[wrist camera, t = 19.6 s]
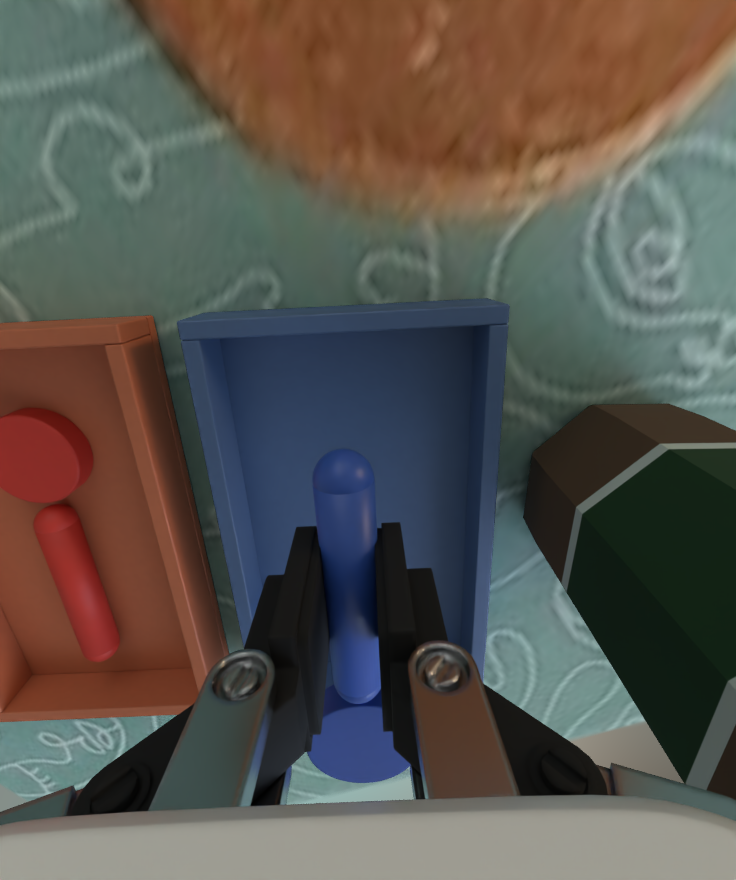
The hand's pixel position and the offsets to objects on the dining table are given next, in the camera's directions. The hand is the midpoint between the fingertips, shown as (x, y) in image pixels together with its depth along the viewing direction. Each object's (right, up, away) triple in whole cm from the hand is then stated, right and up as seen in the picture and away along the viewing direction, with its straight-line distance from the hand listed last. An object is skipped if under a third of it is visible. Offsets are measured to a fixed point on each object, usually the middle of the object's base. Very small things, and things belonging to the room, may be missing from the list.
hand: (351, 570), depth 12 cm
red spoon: (-12, 0, +6) cm, 13 cm away
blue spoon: (0, -2, +1) cm, 2 cm away
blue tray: (0, +1, +7) cm, 7 cm away
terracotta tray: (-12, 0, +7) cm, 14 cm away
